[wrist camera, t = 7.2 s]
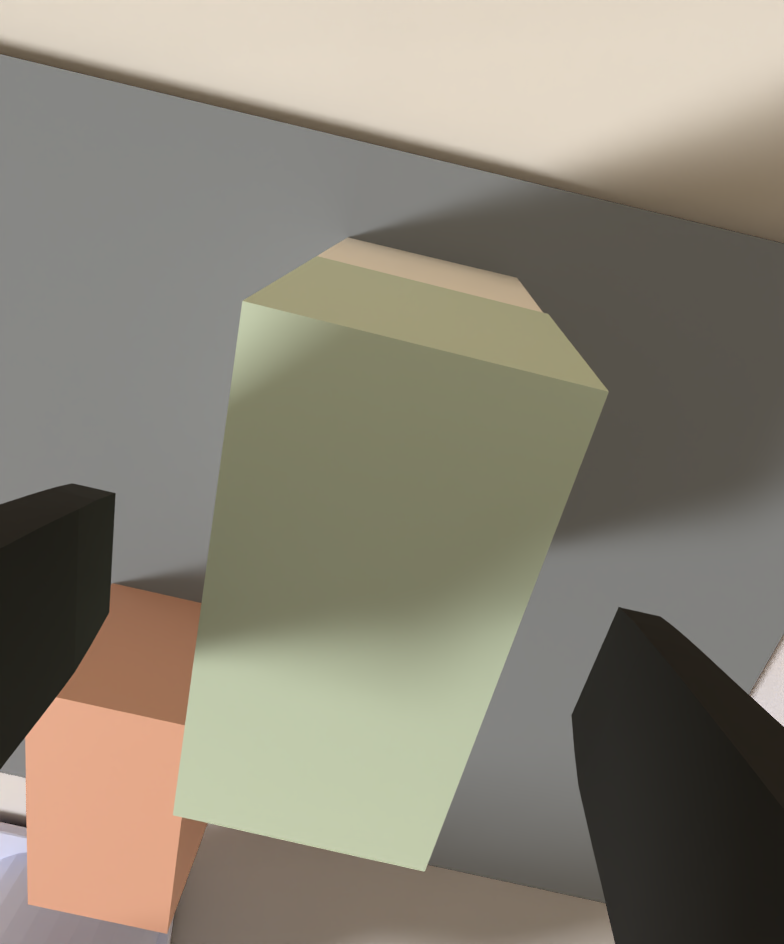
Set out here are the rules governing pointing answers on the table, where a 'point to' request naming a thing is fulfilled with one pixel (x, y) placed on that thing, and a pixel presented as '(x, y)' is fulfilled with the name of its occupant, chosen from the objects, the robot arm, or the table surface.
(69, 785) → the terracotta brick
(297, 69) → the table surface
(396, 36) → the table surface
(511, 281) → the cream brick
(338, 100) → the table surface
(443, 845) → the mat
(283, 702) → the green brick
